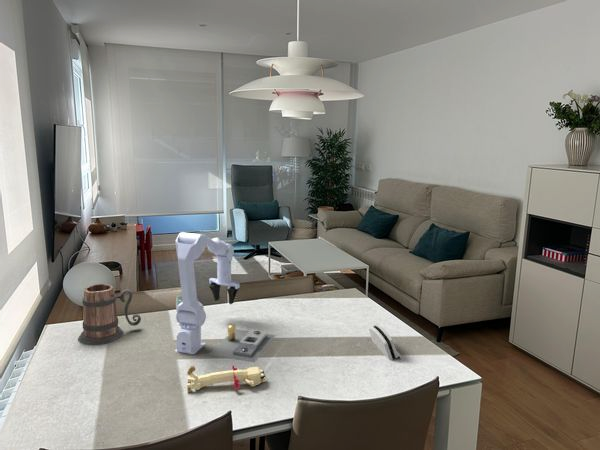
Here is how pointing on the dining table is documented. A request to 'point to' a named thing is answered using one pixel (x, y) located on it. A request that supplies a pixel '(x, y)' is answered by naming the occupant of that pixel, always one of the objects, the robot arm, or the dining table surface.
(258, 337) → the latch strike plate
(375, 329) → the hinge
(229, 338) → the pin
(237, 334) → the mat
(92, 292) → the tankard
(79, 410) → the dining table surface
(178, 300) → the cup
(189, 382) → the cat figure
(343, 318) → the dining table surface
